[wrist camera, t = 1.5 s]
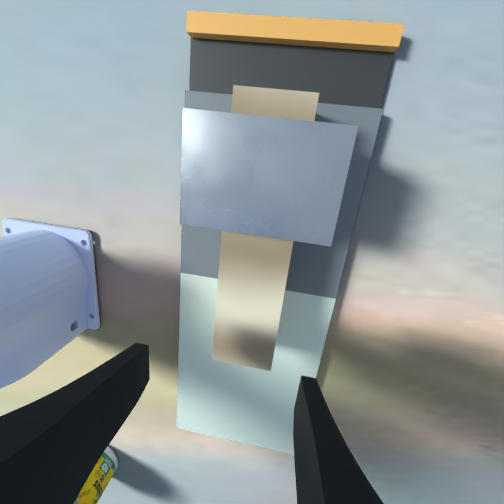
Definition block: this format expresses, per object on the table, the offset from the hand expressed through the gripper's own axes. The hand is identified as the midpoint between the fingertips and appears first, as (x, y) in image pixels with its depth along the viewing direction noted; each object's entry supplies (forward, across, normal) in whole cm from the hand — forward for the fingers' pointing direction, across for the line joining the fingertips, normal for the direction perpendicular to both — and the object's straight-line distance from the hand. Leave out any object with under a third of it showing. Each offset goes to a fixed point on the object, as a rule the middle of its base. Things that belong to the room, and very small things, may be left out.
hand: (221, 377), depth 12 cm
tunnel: (+10, 0, -9) cm, 13 cm away
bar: (+8, 0, -5) cm, 10 cm away
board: (+10, 0, 0) cm, 10 cm away
